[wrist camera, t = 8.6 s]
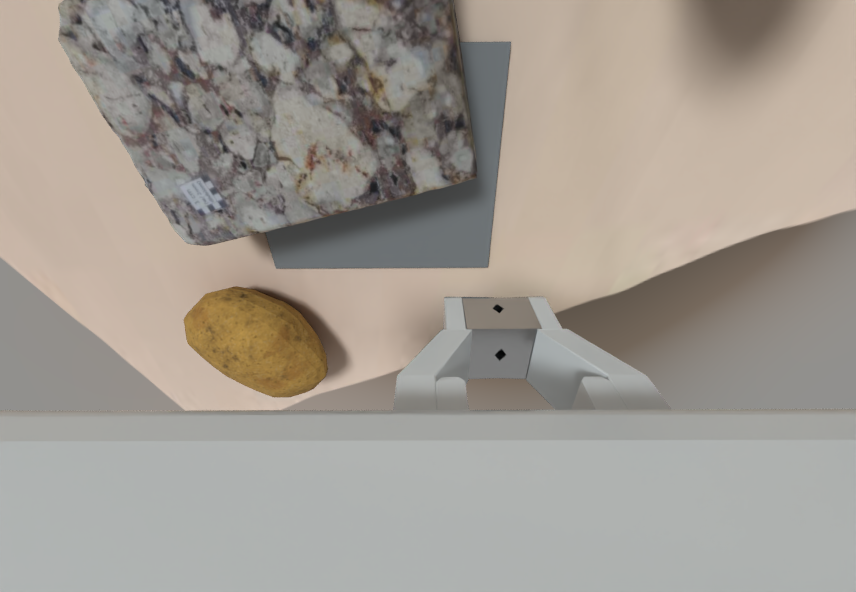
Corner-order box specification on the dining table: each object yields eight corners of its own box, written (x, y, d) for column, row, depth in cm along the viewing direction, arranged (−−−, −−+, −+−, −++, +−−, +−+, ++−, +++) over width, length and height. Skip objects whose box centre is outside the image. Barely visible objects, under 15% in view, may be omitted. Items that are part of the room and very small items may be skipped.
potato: (253, 250, 29) (209, 292, 23) (354, 337, 35) (339, 389, 29) (195, 302, 32) (143, 350, 26) (296, 375, 38) (272, 428, 32)
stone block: (483, 189, 19) (173, 256, 21) (471, 175, 25) (233, 228, 27) (438, -147, 13) (21, -6, 15) (437, -57, 19) (140, 34, 22)
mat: (509, 42, 21) (510, 41, 21) (487, 265, 30) (487, 267, 29) (213, 45, 21) (209, 45, 21) (277, 266, 30) (276, 268, 30)
